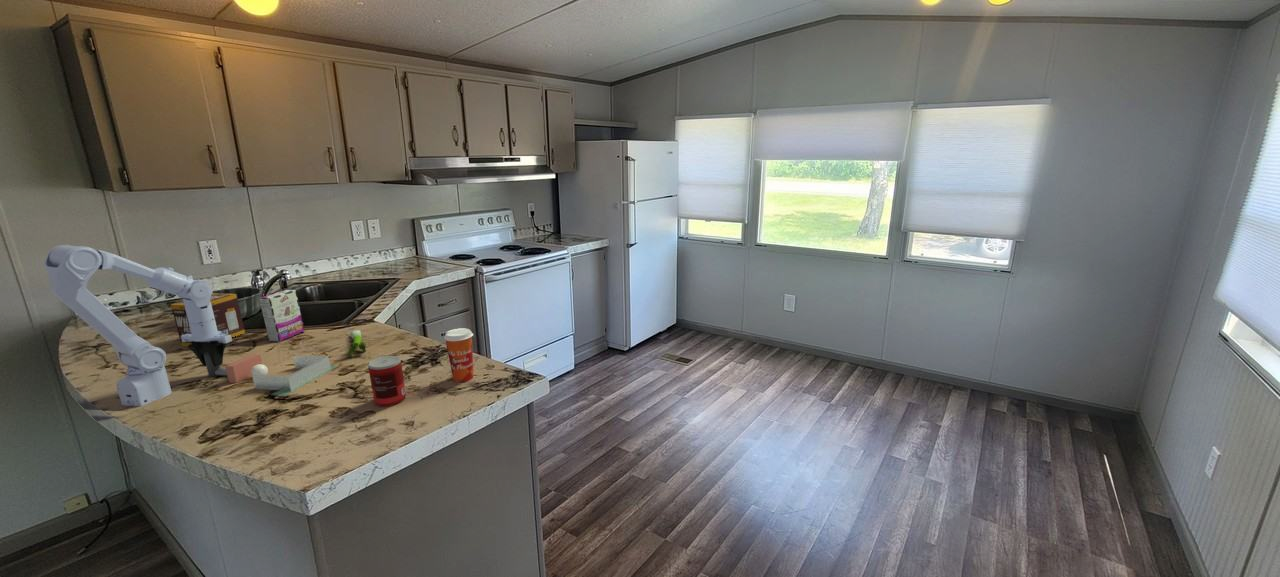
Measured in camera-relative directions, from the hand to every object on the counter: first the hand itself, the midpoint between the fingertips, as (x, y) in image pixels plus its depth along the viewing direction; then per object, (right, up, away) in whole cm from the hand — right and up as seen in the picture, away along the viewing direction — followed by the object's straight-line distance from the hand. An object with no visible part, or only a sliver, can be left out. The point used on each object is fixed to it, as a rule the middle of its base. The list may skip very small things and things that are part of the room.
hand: (213, 365), depth 149 cm
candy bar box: (-4, +5, +37) cm, 37 cm away
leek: (+28, +2, +25) cm, 38 cm away
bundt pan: (-46, +10, +62) cm, 78 cm away
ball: (+15, -2, -2) cm, 15 cm away
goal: (+25, -4, -3) cm, 26 cm away
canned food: (+59, -7, -15) cm, 62 cm away
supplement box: (-29, +4, +36) cm, 46 cm away
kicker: (+5, -3, 0) cm, 6 cm away
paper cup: (+74, -4, -2) cm, 74 cm away
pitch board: (+14, -4, -1) cm, 15 cm away
